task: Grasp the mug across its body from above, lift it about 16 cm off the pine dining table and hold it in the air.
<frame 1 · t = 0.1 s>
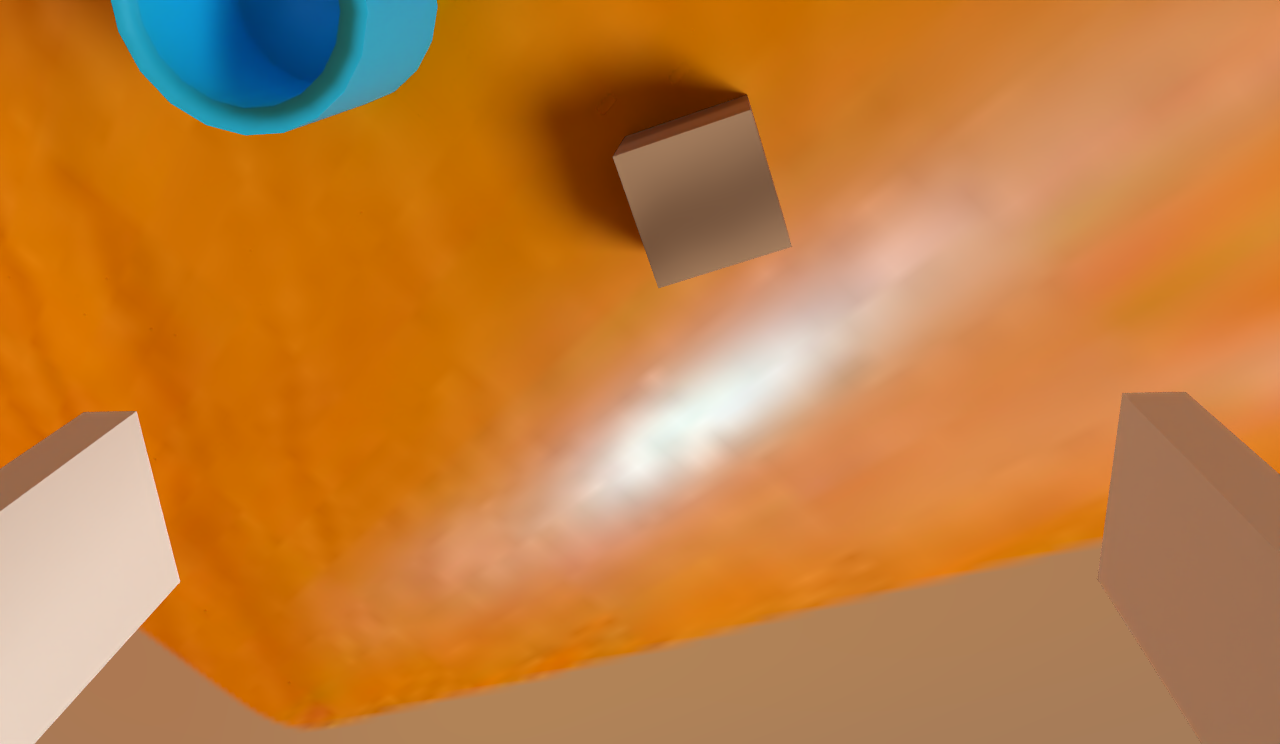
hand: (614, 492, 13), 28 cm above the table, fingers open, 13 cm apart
walnut cube: (704, 176, 40), on the table
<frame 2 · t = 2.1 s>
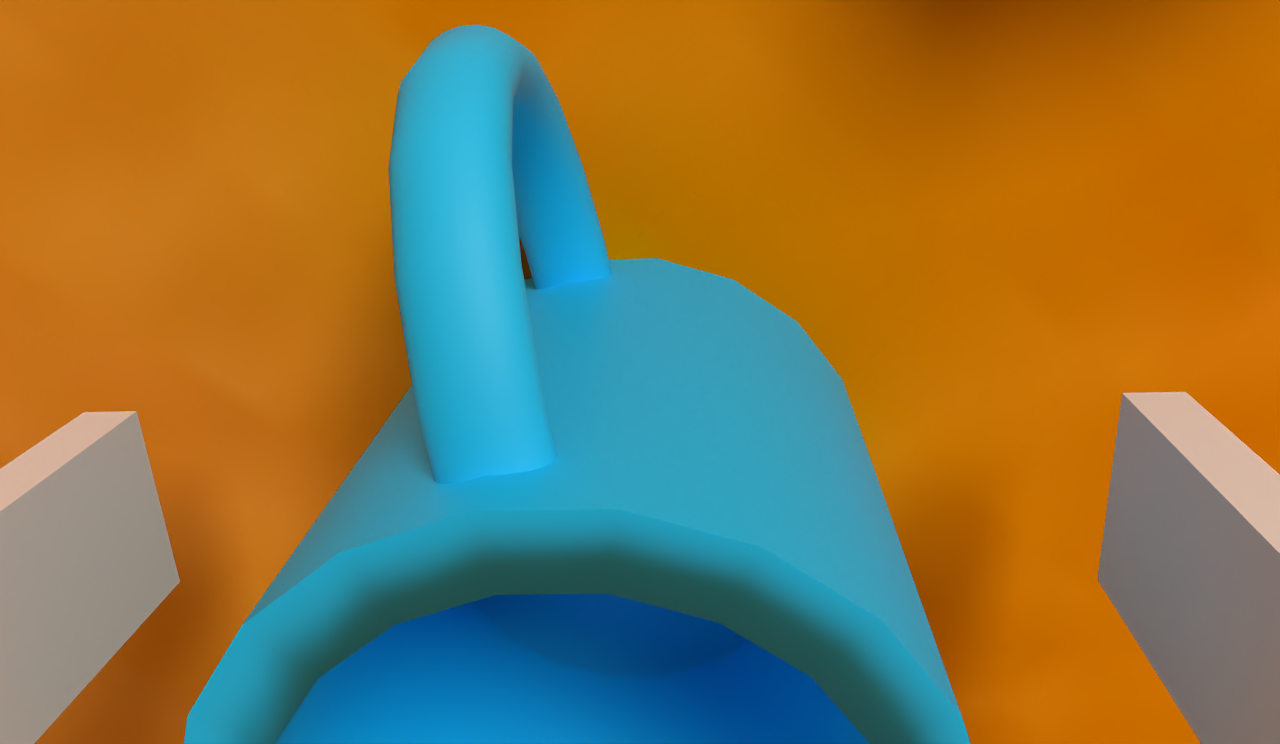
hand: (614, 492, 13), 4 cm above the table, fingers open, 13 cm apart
mug: (608, 377, 17), on the table
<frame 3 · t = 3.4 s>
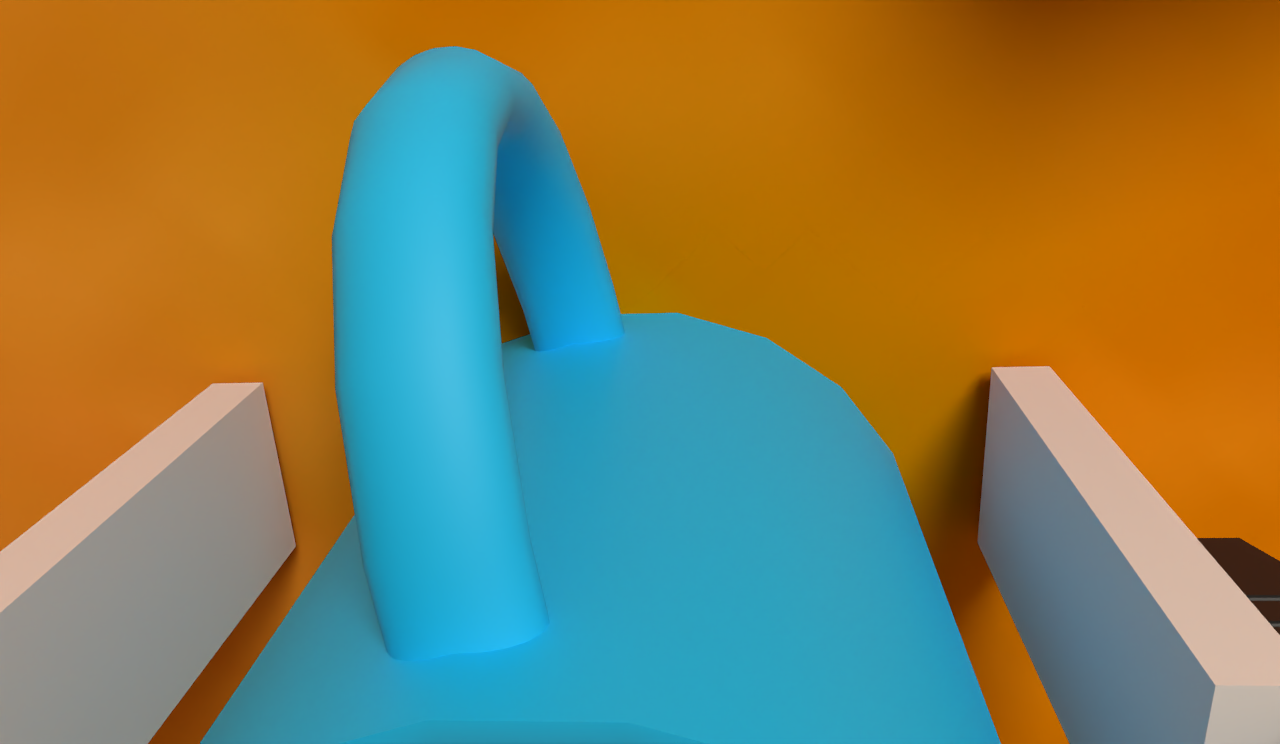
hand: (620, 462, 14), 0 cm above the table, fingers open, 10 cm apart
mug: (619, 446, 15), on the table
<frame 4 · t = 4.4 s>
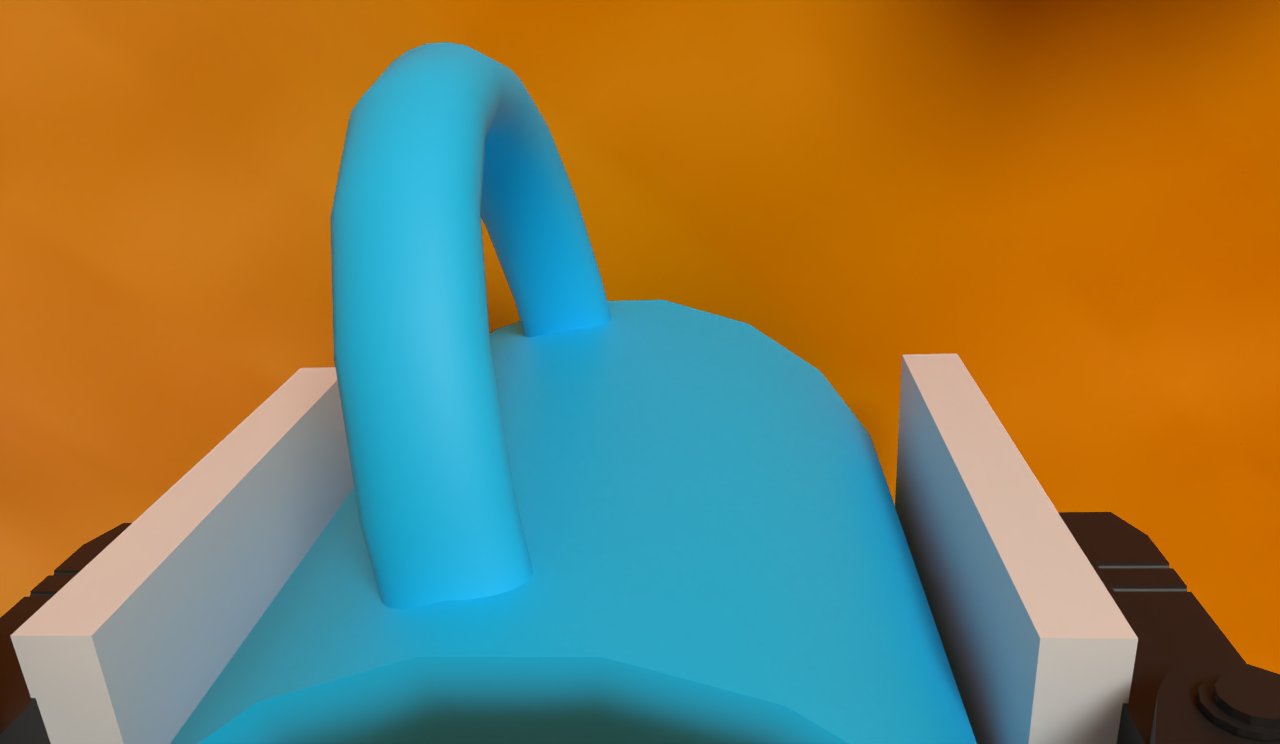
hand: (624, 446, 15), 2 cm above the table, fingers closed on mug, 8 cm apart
mug: (608, 430, 15), point 2 cm above the table, touching gripper
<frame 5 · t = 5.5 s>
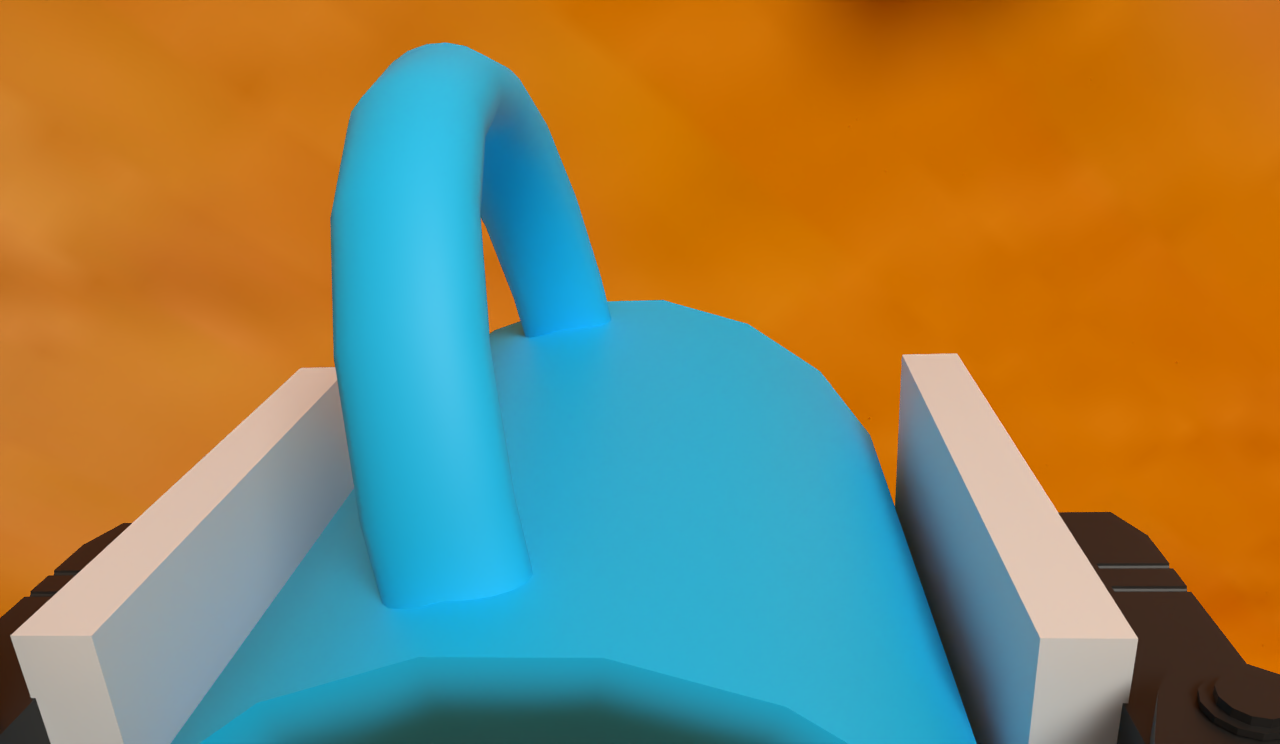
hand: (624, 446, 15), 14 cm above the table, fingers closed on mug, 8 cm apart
mug: (608, 431, 15), point 14 cm above the table, touching gripper
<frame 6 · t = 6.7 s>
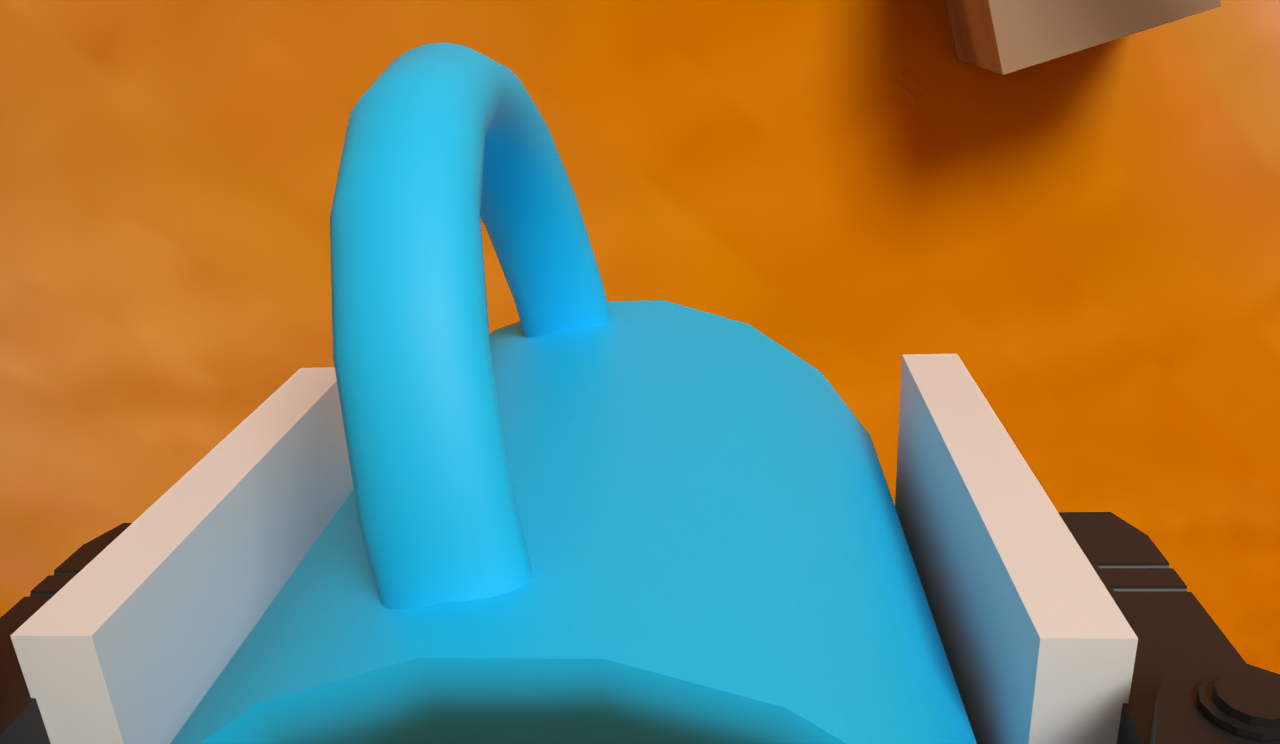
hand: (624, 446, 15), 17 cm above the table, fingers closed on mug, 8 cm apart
mug: (608, 431, 15), point 17 cm above the table, touching gripper
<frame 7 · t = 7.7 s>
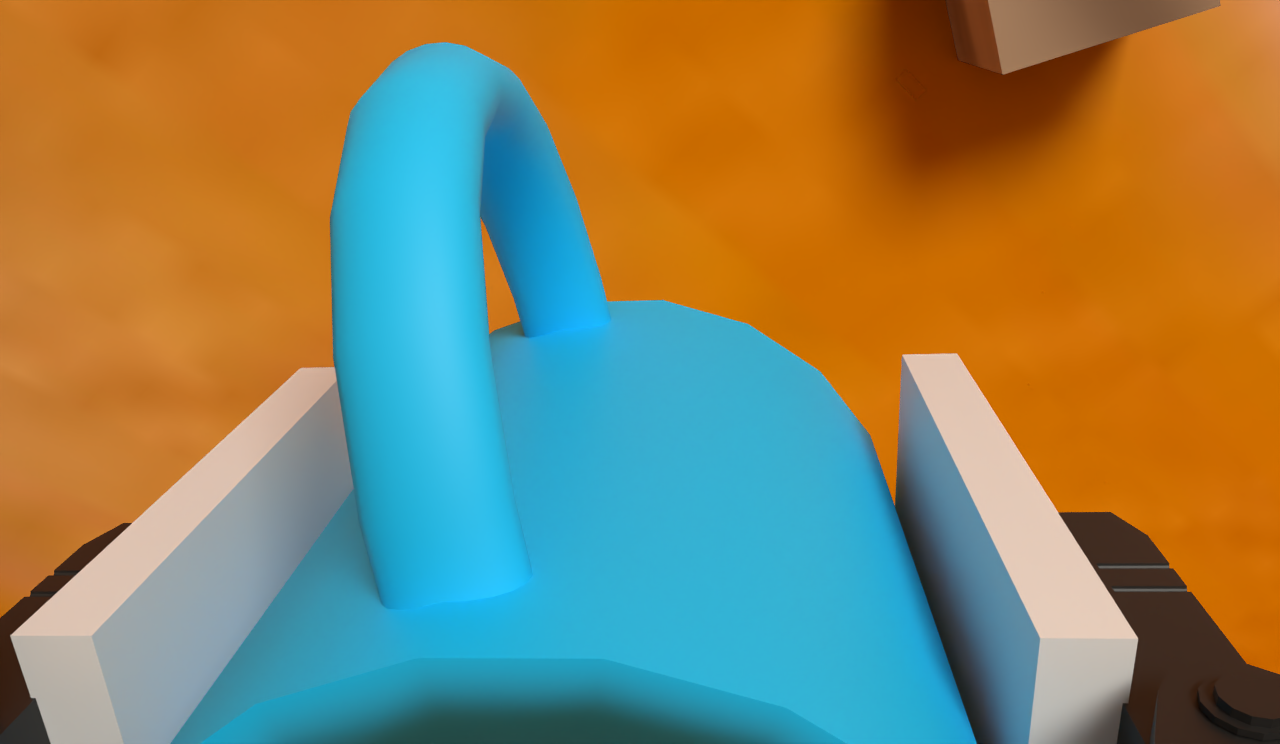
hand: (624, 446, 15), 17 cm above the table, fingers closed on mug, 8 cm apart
mug: (608, 431, 15), point 17 cm above the table, touching gripper
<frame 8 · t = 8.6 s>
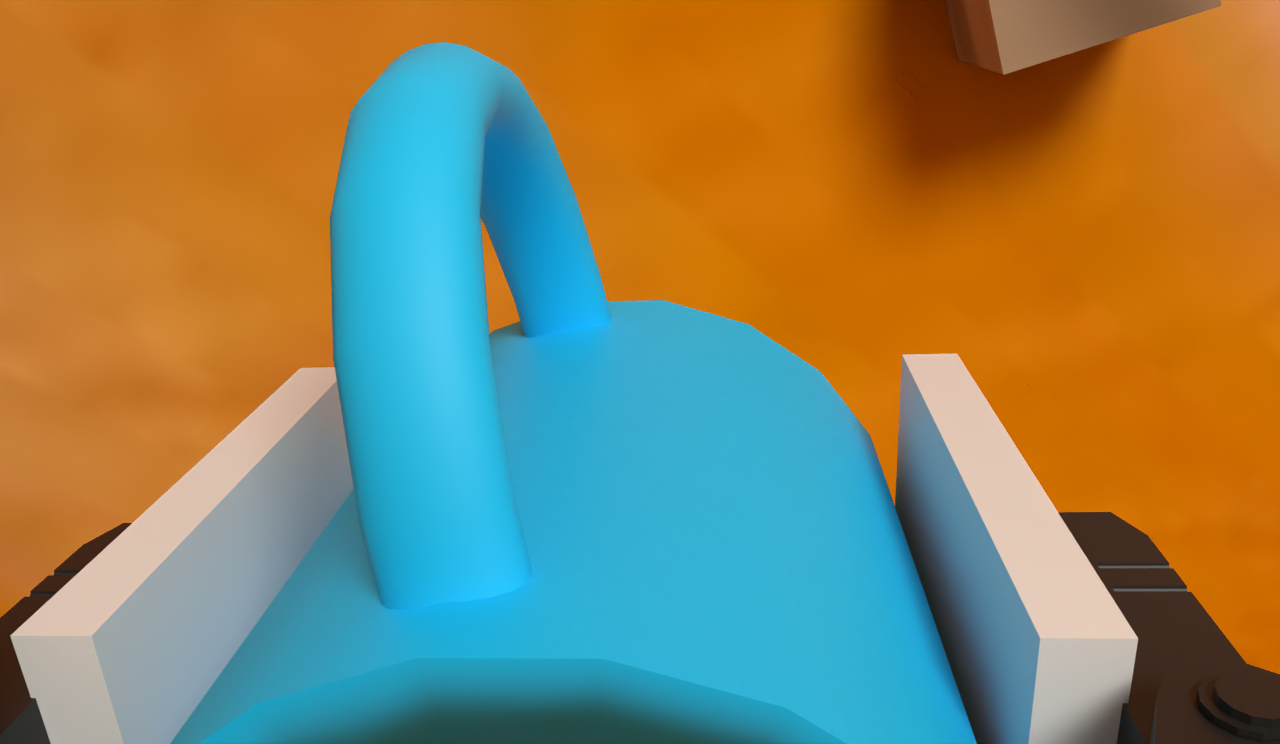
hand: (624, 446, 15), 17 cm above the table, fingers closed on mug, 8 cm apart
mug: (608, 431, 15), point 17 cm above the table, touching gripper
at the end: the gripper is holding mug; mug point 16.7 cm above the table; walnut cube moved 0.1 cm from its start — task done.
